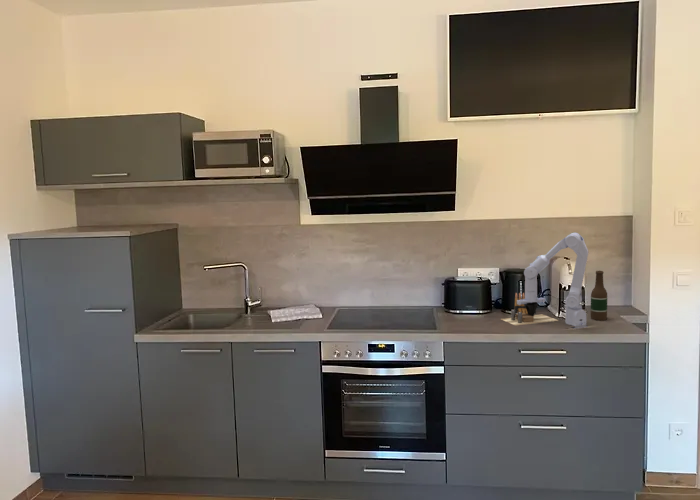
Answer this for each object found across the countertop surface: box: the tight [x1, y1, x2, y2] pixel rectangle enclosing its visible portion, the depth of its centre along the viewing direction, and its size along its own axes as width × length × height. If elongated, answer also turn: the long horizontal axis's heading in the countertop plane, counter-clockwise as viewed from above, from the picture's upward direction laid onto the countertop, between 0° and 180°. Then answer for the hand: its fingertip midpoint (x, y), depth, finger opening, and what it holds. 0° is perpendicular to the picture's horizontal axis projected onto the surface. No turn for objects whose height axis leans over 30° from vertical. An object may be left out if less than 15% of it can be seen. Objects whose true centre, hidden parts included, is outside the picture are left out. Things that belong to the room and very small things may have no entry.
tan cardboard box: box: [515, 313, 534, 323], centre depth 288 cm, size 8×5×2 cm, turn 16°
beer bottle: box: [590, 270, 608, 322], centre depth 289 cm, size 8×8×24 cm
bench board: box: [500, 313, 559, 326], centre depth 289 cm, size 14×24×1 cm, turn 106°
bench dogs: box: [510, 308, 522, 323], centre depth 287 cm, size 8×2×6 cm, turn 16°
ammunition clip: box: [514, 292, 537, 315], centre depth 303 cm, size 11×2×12 cm, turn 78°
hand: (530, 317), depth 289 cm, fingers closed
